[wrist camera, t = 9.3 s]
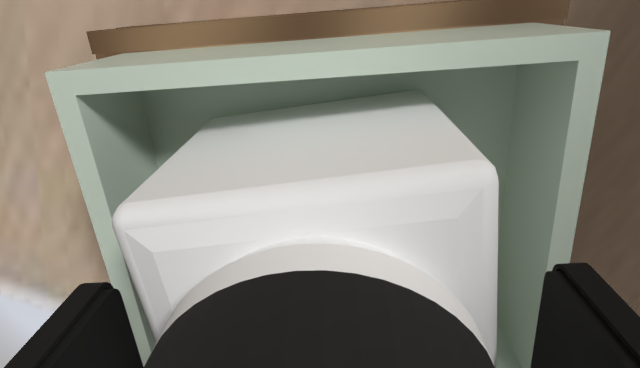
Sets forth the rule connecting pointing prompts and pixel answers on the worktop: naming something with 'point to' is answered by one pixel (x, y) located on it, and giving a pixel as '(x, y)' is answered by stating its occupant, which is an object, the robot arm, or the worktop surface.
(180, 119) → the sage crate
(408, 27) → the brown wooden flat block
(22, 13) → the worktop surface
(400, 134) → the medicine bottle
